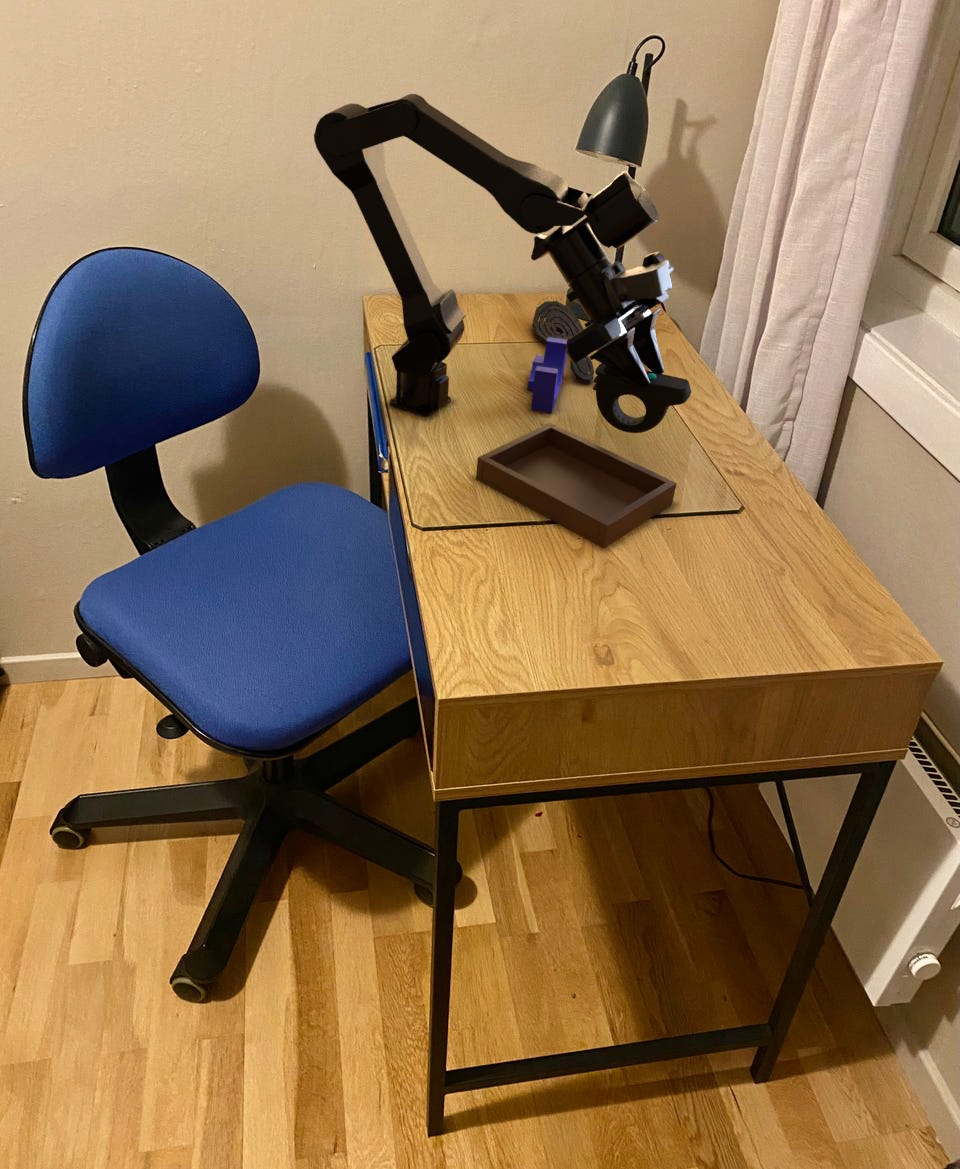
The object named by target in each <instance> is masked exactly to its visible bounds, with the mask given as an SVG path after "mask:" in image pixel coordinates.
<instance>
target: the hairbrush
mask: <svg viewBox="0 0 960 1169" xmlns="http://www.w3.org/2000/svg"><path fill="white" fill-rule="evenodd" d="M548 298H549V297H545V298H544V297H543V299H542V300H543V302H542V301H539V302H538V306H535V308H536V309H535V311H534V315H533V318H532V325H531V326H532V329H533V332H534V336H535V338H536V340H538V341H539V342H540V343H542V344H543V345H545V346H546V341H547V338H548V337H551V338H558V339H565V340H569V339H570V338H572V337H573V336H574V335H576V334H577V333H579V332H580V331H582V330H583V329H584V326H583V325H582V323H581V321H580V319H579V318H578V316H577V315H576V314H575V312H574V311H573V310H572V308H571V307H570V306H568V305H566V302H565V301H564V303H563V302H560V301H563V299H562V298H560V301H558V299H557V297H555V299H554V297H552V296H551V299H552V300H551V301H550V300H548ZM546 299H547V300H546ZM541 302H542V303H541ZM589 357H590V356H589V355H588V356H586V357H584V358H583V359H581V360H580V361H578V362H577V363H575V364H573V362H572V361H571V359H570V358H569V366H570V370H571V371H572V374H573V376H574V378H575V380H576V381H577V382H579V383H581V384H582V385H590V384H591V383H592V382H593V380H594V375H595V368H594V364H593V360H591V359H590V358H589Z"/></svg>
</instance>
